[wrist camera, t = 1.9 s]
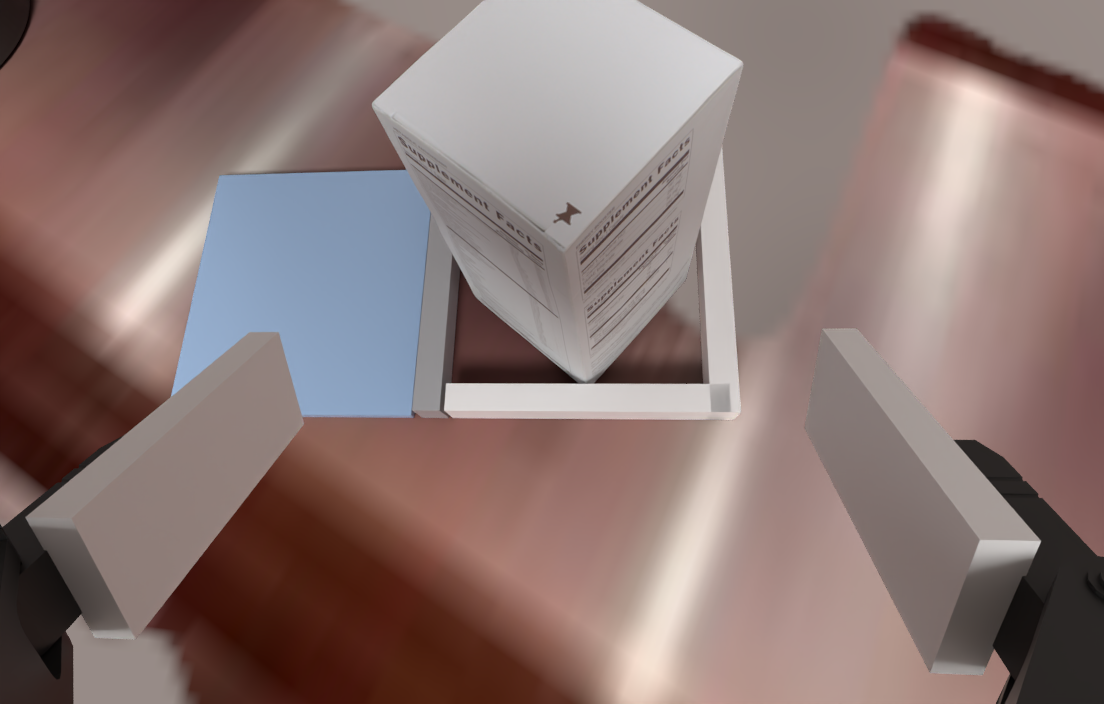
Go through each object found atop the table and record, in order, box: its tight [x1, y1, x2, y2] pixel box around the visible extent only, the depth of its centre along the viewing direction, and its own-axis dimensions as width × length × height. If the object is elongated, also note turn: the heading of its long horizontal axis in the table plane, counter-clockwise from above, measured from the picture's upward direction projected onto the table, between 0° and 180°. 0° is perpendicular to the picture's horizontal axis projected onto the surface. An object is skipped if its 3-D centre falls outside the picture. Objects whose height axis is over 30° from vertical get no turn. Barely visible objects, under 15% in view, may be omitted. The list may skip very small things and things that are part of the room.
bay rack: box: [171, 147, 741, 420], centre depth 36 cm, size 16×32×2 cm, turn 89°
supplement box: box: [372, 0, 743, 384], centre depth 28 cm, size 10×9×17 cm
